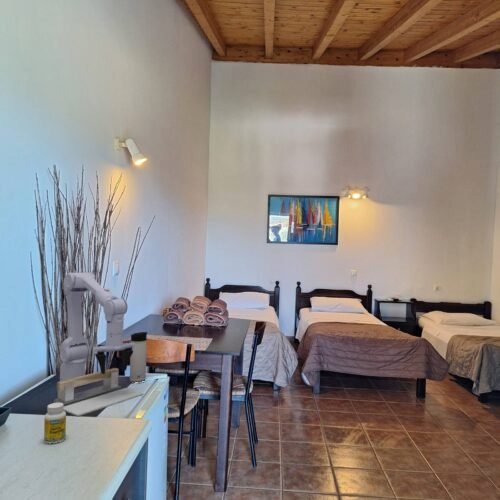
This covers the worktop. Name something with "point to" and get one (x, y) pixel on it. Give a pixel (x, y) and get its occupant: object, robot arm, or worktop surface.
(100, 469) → the worktop surface
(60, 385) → the rail
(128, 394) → the mat
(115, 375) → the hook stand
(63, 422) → the supplement bottle
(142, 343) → the travel mug
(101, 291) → the robot arm
